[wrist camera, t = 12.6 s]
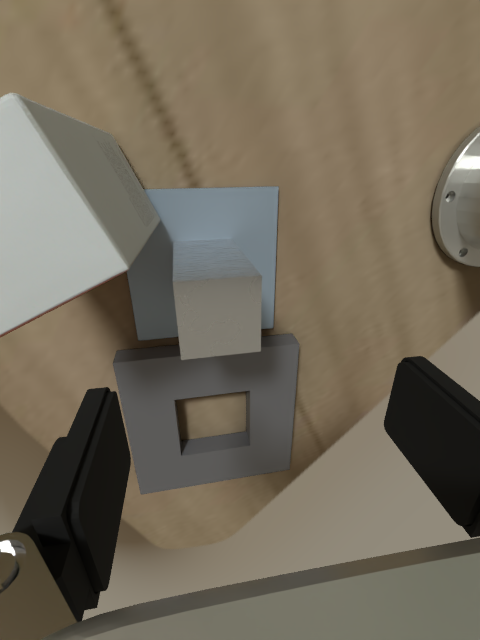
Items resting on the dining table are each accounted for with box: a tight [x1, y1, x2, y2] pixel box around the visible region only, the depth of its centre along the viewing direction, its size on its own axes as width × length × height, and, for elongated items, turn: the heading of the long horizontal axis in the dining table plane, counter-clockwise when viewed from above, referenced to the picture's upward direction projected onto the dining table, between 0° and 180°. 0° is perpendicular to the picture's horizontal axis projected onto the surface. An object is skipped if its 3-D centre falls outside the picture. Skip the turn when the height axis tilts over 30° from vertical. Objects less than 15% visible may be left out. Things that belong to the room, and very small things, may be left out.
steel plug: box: [173, 239, 262, 360], centre depth 21 cm, size 4×4×10 cm
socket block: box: [113, 334, 299, 494], centre depth 32 cm, size 16×16×2 cm
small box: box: [0, 93, 160, 337], centre depth 17 cm, size 8×6×13 cm
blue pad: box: [127, 187, 279, 341], centre depth 26 cm, size 12×12×1 cm
